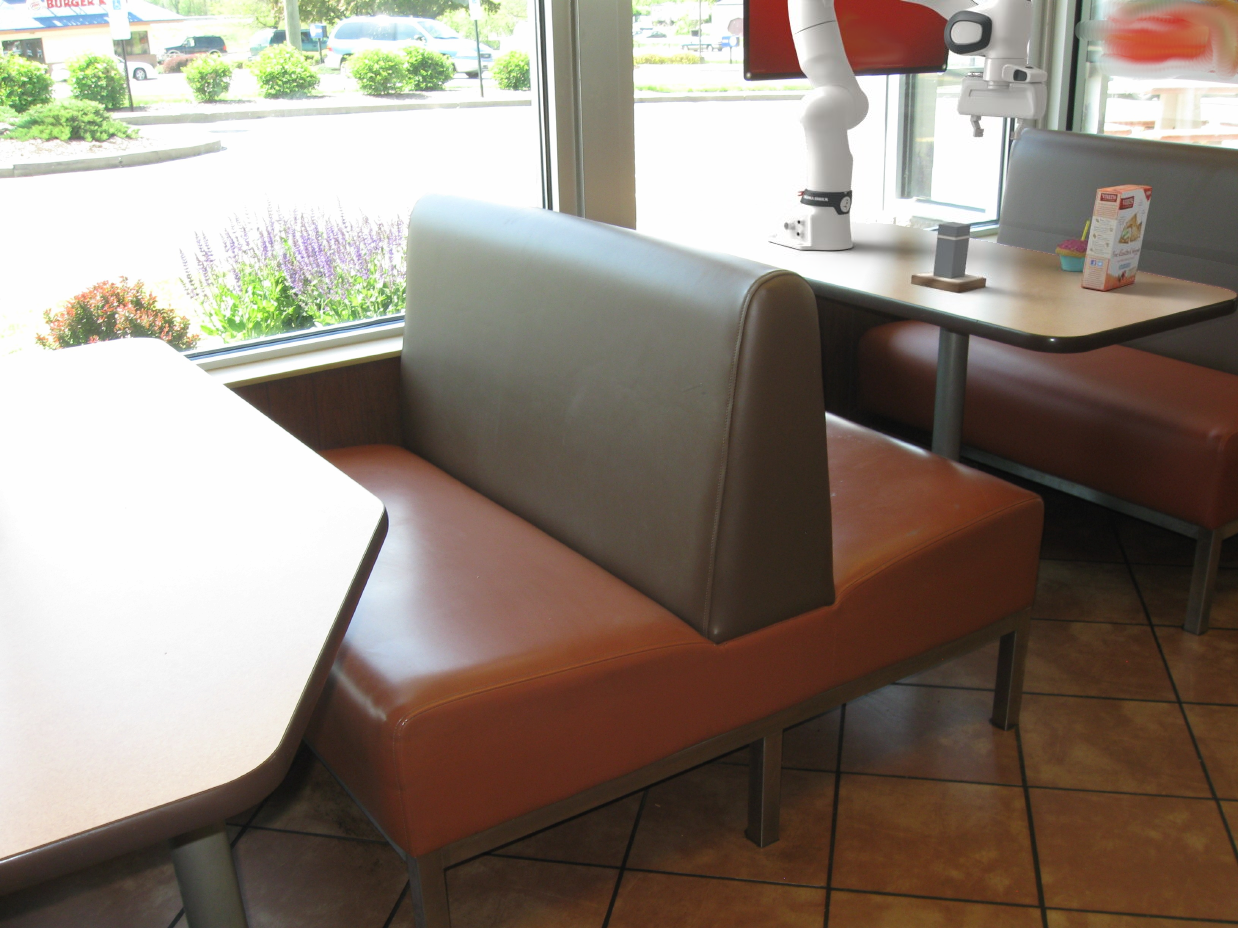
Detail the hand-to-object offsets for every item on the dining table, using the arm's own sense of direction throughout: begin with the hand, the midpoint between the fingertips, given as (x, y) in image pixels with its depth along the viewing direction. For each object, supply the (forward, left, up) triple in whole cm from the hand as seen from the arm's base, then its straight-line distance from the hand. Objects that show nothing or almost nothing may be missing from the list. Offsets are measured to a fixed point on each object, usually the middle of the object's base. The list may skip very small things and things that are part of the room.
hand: (996, 138), depth 244 cm
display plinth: (+6, -21, -29) cm, 36 cm away
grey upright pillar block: (+6, -21, -27) cm, 35 cm away
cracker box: (+28, +6, -29) cm, 41 cm away
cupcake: (+14, +16, -29) cm, 36 cm away
